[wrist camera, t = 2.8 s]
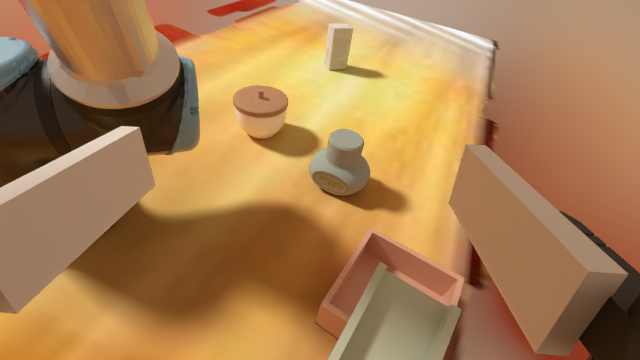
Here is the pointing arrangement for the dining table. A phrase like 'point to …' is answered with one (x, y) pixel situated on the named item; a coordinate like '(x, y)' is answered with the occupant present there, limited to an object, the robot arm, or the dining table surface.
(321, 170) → the air freshener
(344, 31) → the skincare box
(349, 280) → the pink open box
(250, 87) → the lidded jar
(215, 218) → the dining table surface
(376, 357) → the lever
